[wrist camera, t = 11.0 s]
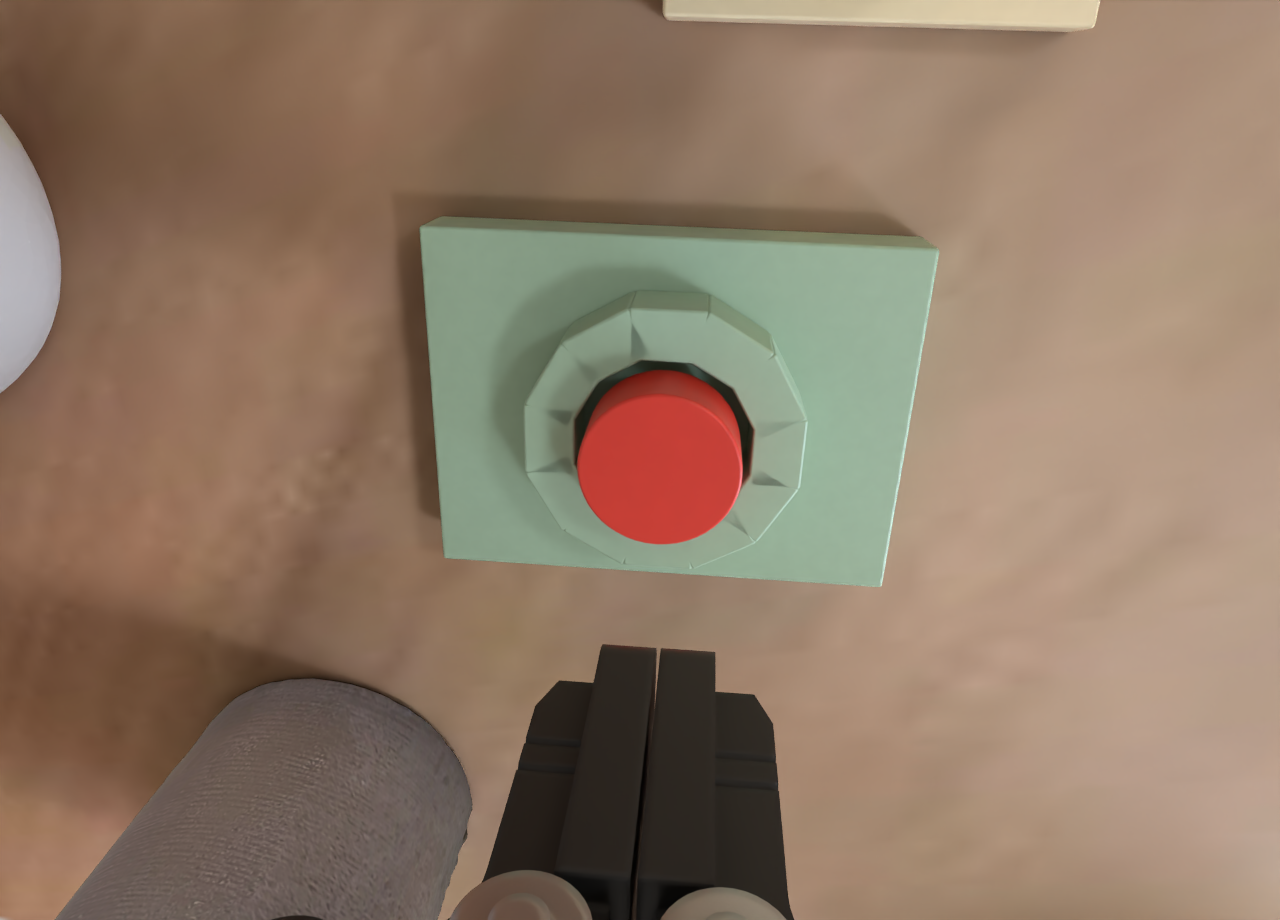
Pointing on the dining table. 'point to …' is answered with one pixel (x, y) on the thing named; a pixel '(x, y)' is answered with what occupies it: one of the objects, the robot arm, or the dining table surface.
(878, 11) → the lever bracket
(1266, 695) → the dining table surface
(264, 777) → the pillar candle
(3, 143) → the teacup
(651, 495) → the button
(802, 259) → the button block
